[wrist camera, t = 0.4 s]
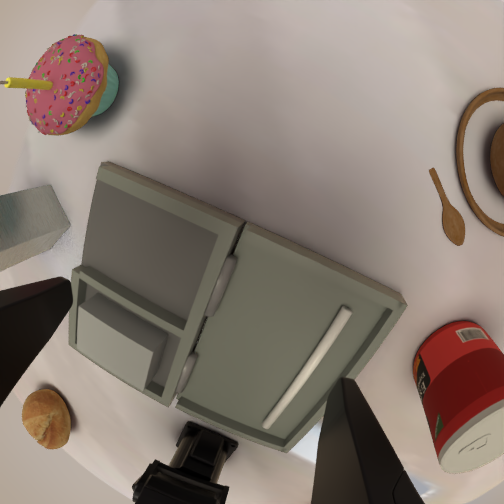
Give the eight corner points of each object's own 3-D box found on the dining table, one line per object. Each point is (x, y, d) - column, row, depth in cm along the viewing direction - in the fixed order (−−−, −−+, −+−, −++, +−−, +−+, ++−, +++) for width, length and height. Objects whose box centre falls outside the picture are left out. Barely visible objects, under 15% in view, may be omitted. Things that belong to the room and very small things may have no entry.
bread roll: (85, 410, 35) (57, 443, 28) (75, 439, 41) (54, 465, 33) (40, 370, 35) (9, 397, 28) (38, 406, 41) (15, 429, 33)
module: (71, 225, 26) (-42, 271, 13) (49, 249, 27) (-48, 297, 14) (50, 184, 25) (-62, 211, 12) (30, 211, 26) (-68, 245, 14)
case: (289, 439, 28) (284, 467, 24) (81, 334, 30) (59, 351, 26) (400, 293, 21) (414, 318, 17) (108, 161, 23) (77, 164, 19)
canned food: (397, 354, 23) (425, 454, 12) (470, 300, 20) (534, 378, 10) (428, 398, 23) (453, 484, 13) (492, 352, 21) (539, 427, 10)
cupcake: (153, 62, 20) (46, 16, 8) (108, 152, 23) (-8, 162, 11) (91, 41, 20) (-5, 11, 8) (55, 118, 23) (-44, 120, 11)
